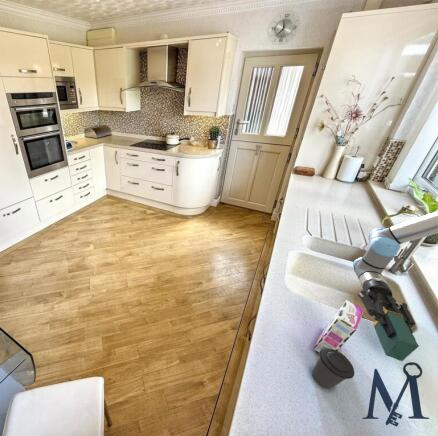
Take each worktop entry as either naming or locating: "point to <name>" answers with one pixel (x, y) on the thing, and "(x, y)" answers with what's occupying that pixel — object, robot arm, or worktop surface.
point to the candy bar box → (340, 327)
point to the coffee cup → (332, 368)
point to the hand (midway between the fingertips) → (401, 338)
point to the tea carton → (396, 337)
